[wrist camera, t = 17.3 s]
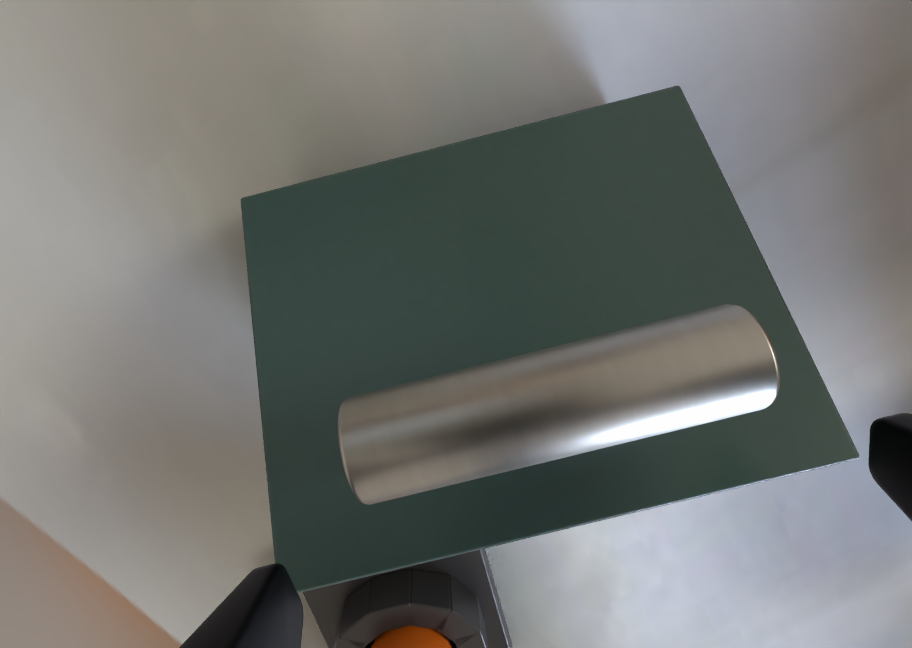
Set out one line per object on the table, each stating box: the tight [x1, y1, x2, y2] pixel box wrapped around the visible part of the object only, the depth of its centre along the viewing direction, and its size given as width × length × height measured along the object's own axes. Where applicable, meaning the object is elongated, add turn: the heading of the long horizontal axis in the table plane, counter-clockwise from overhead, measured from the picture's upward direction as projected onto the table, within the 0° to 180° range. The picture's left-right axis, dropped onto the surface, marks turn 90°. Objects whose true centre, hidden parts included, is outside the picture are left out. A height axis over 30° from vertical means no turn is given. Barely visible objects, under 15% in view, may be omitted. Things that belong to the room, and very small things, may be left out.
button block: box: [303, 548, 513, 648], centre depth 23 cm, size 10×8×4 cm
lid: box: [241, 86, 859, 593], centre depth 10 cm, size 9×12×4 cm
